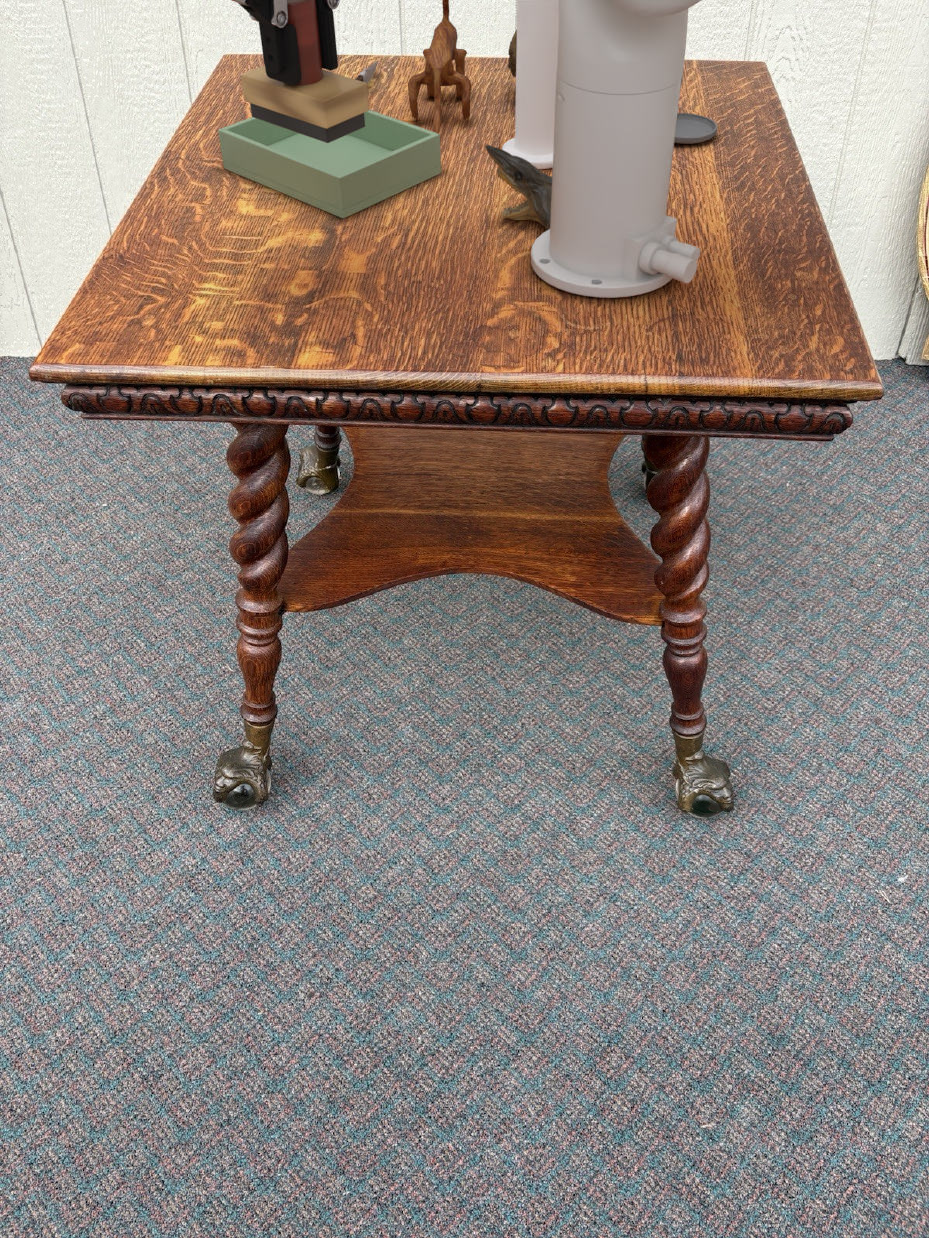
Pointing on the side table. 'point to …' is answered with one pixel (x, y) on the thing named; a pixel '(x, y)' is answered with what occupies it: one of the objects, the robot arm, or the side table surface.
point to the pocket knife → (367, 73)
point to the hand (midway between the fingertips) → (302, 70)
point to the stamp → (308, 88)
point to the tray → (333, 161)
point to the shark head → (524, 187)
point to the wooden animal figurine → (442, 70)
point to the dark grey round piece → (693, 128)
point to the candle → (535, 82)
